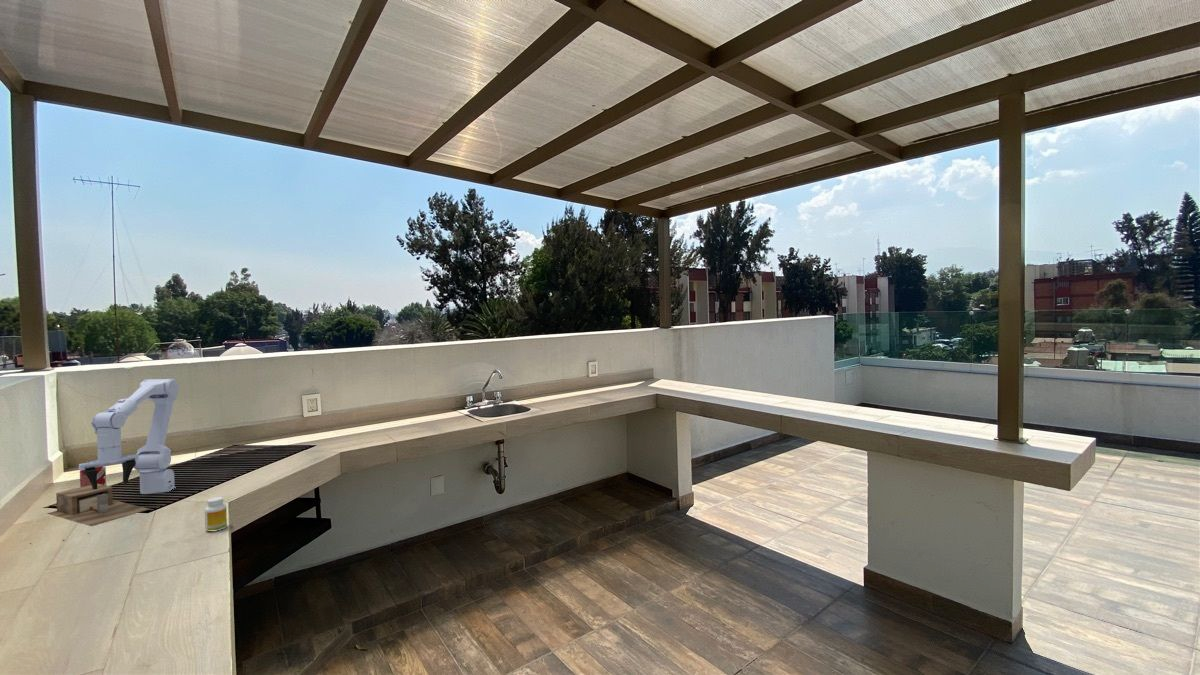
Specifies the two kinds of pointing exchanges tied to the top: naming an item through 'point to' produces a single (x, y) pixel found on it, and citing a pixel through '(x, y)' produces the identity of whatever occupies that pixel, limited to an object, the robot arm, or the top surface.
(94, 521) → the walnut shelf
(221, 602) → the top surface
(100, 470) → the soda can
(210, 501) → the supplement bottle
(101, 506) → the grey handled cream block
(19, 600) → the top surface
